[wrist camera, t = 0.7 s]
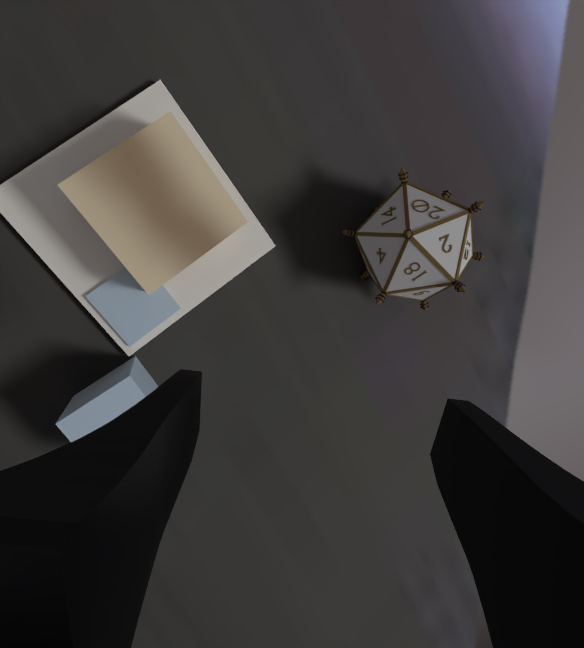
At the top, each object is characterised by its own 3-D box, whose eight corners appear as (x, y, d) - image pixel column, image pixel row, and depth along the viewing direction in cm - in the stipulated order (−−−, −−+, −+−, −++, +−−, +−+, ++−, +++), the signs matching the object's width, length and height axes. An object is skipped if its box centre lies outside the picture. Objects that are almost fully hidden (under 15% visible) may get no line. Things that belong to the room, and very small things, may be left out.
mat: (129, 354, 28) (128, 357, 27) (-12, 196, 25) (-18, 194, 24) (273, 246, 30) (276, 245, 29) (160, 83, 26) (160, 77, 25)
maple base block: (148, 292, 27) (148, 295, 24) (68, 196, 25) (57, 184, 22) (236, 227, 28) (248, 221, 25) (167, 130, 26) (170, 111, 23)
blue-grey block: (116, 447, 29) (107, 484, 24) (73, 395, 28) (55, 424, 23) (174, 408, 30) (176, 437, 25) (135, 355, 28) (129, 375, 24)
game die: (341, 253, 35) (301, 234, 26) (420, 171, 33) (407, 118, 23) (419, 333, 33) (406, 345, 24) (509, 253, 31) (534, 231, 22)
